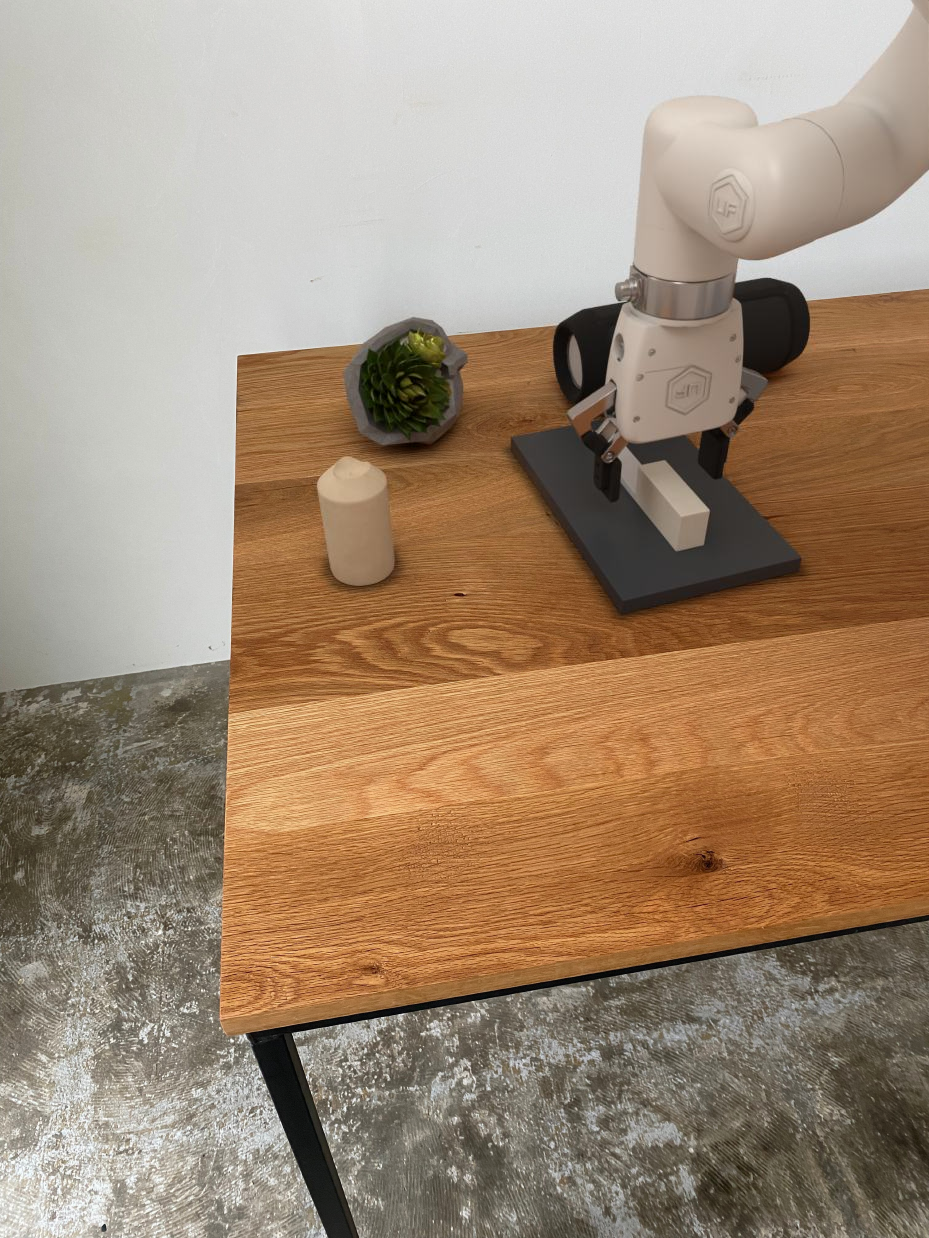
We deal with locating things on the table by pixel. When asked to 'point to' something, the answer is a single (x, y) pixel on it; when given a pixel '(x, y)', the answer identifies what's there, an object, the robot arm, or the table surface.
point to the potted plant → (406, 383)
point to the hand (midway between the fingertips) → (658, 482)
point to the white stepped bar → (665, 500)
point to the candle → (356, 522)
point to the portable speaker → (768, 335)
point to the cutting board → (651, 523)
